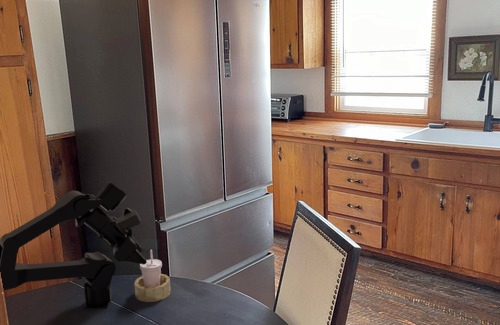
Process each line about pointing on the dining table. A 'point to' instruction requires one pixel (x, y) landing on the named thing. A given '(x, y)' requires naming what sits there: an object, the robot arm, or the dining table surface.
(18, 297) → the dining table surface
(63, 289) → the dining table surface
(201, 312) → the dining table surface
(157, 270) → the smoothie
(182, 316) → the dining table surface
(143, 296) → the collar
